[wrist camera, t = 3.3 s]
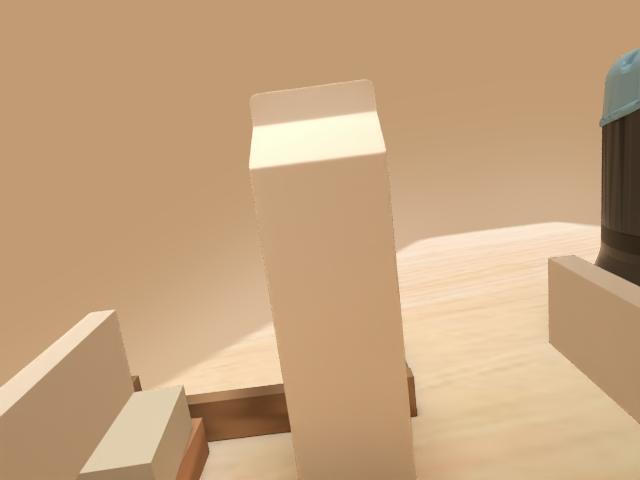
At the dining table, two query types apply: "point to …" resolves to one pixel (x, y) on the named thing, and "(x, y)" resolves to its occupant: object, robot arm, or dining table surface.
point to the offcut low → (194, 453)
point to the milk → (333, 279)
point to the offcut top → (144, 439)
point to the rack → (249, 410)
